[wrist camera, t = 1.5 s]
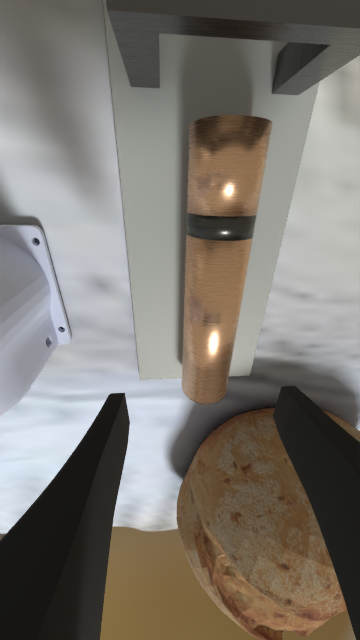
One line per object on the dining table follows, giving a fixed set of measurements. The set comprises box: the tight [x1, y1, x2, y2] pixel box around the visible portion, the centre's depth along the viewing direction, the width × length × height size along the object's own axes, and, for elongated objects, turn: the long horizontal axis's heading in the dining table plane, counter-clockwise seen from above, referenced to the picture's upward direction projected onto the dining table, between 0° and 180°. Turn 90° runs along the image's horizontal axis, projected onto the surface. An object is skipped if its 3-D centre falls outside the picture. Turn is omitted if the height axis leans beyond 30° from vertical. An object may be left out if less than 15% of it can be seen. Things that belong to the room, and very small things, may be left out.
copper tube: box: [182, 115, 273, 404], centre depth 16 cm, size 18×4×4 cm, turn 179°
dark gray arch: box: [106, 0, 360, 95], centre depth 9 cm, size 2×9×6 cm, turn 89°
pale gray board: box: [103, 0, 319, 380], centre depth 16 cm, size 29×11×1 cm, turn 179°
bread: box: [177, 407, 360, 640], centre depth 26 cm, size 26×23×15 cm
